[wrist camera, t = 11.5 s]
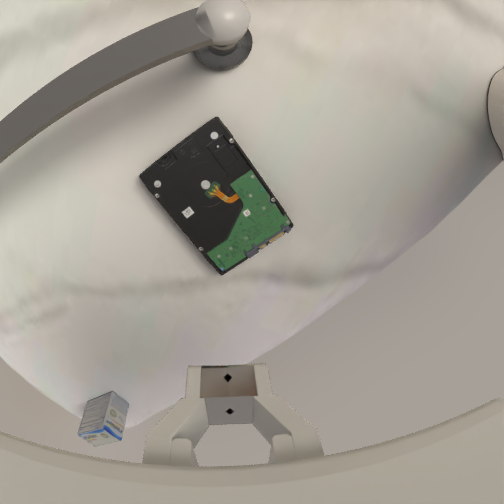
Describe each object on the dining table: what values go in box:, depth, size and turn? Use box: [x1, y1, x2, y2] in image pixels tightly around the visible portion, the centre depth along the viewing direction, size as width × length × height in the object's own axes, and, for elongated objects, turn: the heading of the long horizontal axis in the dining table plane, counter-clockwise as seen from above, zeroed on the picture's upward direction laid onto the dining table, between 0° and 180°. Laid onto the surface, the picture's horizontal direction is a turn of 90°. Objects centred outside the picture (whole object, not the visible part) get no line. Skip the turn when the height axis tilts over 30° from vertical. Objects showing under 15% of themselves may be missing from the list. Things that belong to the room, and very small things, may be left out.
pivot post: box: [194, 28, 252, 70], centre depth 23 cm, size 6×6×8 cm
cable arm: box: [0, 0, 250, 163], centre depth 19 cm, size 4×32×2 cm, turn 109°
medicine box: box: [78, 391, 129, 446], centre depth 44 cm, size 8×4×9 cm, turn 120°
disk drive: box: [139, 117, 293, 275], centre depth 33 cm, size 10×3×15 cm
